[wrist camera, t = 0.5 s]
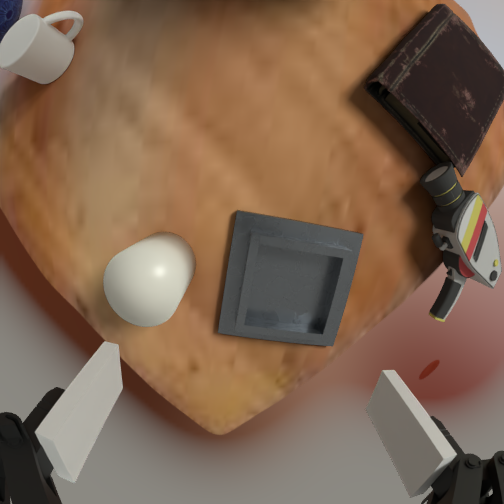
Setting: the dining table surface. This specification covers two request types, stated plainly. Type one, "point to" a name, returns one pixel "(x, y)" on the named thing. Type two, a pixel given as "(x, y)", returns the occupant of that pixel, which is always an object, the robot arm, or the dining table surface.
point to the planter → (9, 15)
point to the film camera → (460, 236)
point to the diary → (441, 87)
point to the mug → (39, 47)
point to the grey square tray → (287, 279)
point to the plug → (149, 278)
